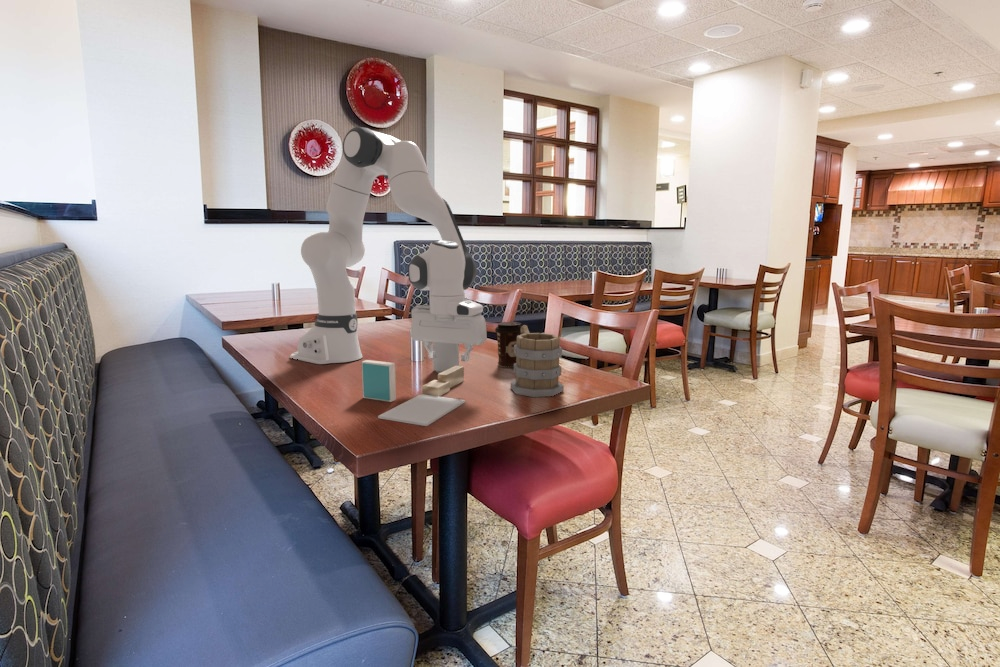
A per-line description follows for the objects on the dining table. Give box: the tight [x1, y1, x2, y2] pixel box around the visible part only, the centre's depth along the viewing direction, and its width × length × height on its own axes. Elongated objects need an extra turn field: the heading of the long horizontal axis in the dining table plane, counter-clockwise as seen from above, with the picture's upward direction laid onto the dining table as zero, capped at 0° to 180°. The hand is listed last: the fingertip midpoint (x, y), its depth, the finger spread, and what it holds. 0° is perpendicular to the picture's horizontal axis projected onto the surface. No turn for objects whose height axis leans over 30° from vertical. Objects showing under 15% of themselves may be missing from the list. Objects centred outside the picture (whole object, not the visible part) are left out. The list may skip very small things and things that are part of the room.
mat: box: [377, 393, 466, 427], centre depth 124 cm, size 12×18×1 cm, turn 157°
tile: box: [361, 359, 397, 403], centre depth 132 cm, size 8×2×9 cm, turn 67°
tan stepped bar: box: [421, 365, 465, 397], centre depth 142 cm, size 4×16×4 cm, turn 157°
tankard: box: [510, 324, 565, 398], centre depth 143 cm, size 20×13×15 cm, turn 12°
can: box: [432, 342, 460, 374], centre depth 158 cm, size 8×8×12 cm
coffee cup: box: [494, 321, 523, 368], centre depth 165 cm, size 9×8×13 cm
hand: (448, 359), depth 141 cm, fingers open, 8 cm apart
